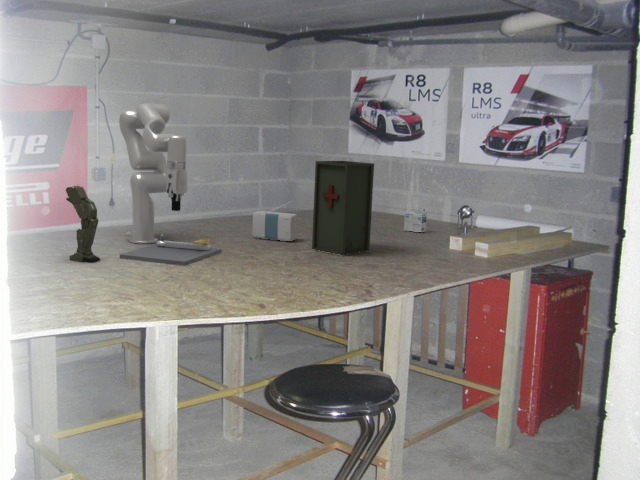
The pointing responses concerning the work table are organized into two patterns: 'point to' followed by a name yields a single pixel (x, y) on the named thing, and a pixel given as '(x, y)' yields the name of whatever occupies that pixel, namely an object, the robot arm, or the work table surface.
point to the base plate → (169, 254)
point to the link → (181, 244)
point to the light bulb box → (415, 221)
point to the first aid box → (342, 206)
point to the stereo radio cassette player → (274, 225)
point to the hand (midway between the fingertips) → (175, 210)
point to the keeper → (202, 241)
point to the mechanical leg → (84, 224)
